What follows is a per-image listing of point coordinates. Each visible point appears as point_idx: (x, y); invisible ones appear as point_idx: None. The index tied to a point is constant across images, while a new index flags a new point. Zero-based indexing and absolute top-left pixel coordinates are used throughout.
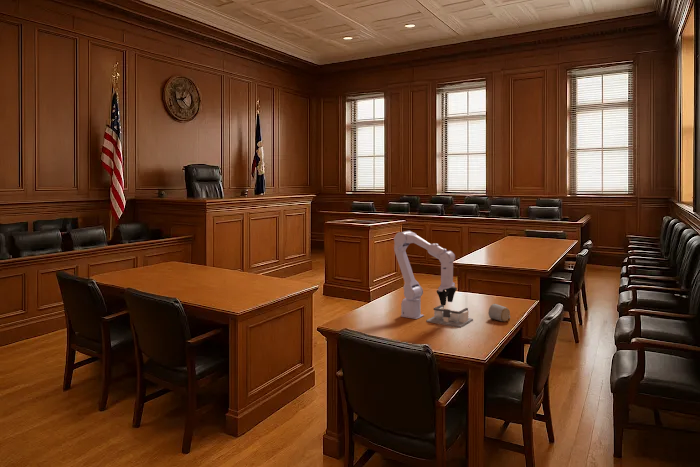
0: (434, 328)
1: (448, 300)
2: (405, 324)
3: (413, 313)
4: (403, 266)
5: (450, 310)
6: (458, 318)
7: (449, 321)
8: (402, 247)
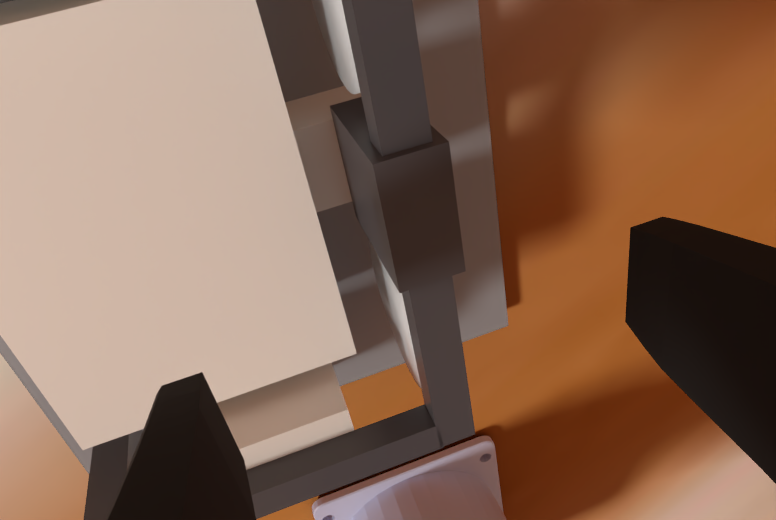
0: (706, 30)
1: (241, 481)
2: None
3: (499, 517)
4: None
5: (389, 136)
6: None
7: (337, 75)
8: None
